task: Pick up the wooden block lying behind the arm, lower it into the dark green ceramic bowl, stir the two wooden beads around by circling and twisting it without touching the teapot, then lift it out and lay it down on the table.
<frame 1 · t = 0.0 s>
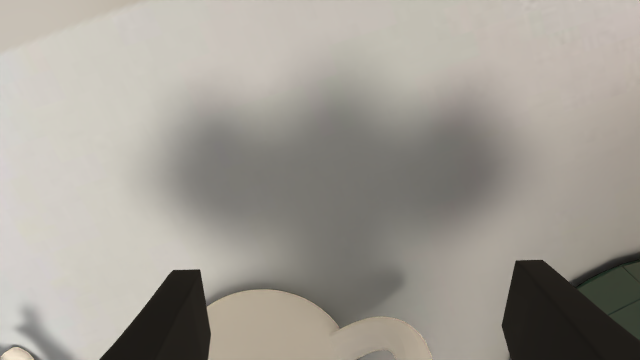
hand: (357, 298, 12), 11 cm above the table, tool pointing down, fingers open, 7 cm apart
mug: (297, 335, 26), on the table
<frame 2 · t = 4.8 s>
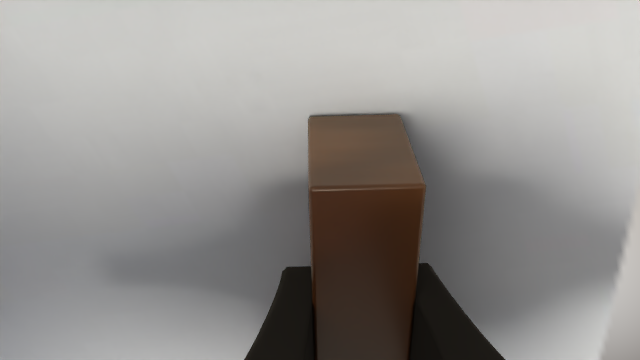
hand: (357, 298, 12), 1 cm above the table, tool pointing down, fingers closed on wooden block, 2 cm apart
wooden block: (351, 259, 14), on the table, touching gripper
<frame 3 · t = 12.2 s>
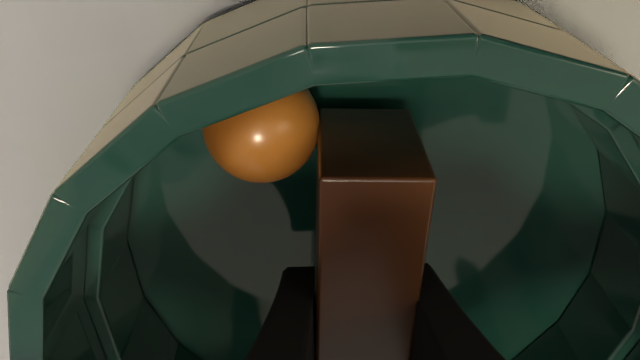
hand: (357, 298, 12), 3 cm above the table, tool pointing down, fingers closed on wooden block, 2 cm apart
bowl: (363, 242, 15), on the table
bead a: (261, 124, 11), point 2 cm above the table, tilted 111°, touching bowl, wooden block
wooden block: (354, 254, 14), point 1 cm above the table, touching bead a, gripper
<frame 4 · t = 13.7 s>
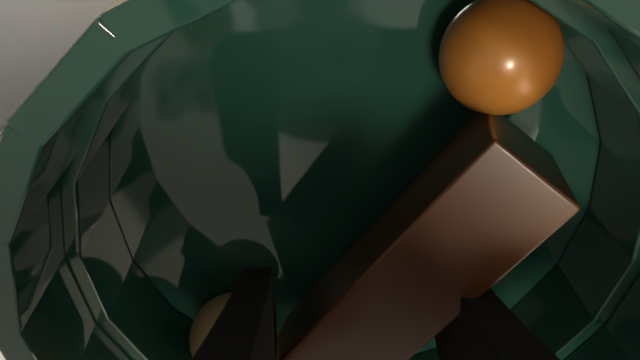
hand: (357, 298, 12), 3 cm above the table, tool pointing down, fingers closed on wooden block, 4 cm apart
bowl: (353, 191, 14), on the table
bead a: (499, 55, 11), point 2 cm above the table, tilted 101°, touching bowl, wooden block
bead b: (234, 336, 15), point 2 cm above the table, tilted 101°, touching bowl
wooden block: (404, 244, 14), point 1 cm above the table, tilted 18°, touching bead a, gripper
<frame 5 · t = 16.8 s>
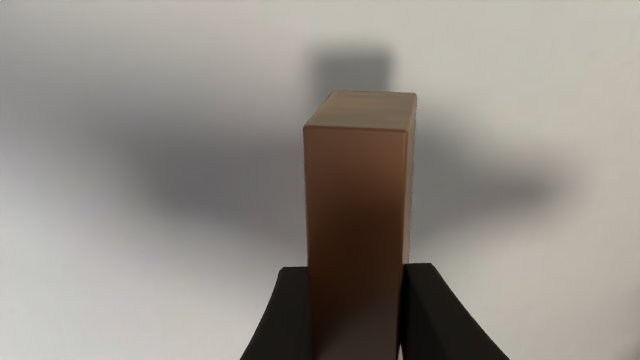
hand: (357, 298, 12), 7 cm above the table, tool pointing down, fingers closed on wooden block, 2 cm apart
wooden block: (371, 239, 14), point 5 cm above the table, tilted 16°, touching gripper
when the fingers open (3 cm above the table, at t = 17.9 s): wooden block stays where it is, on the table.
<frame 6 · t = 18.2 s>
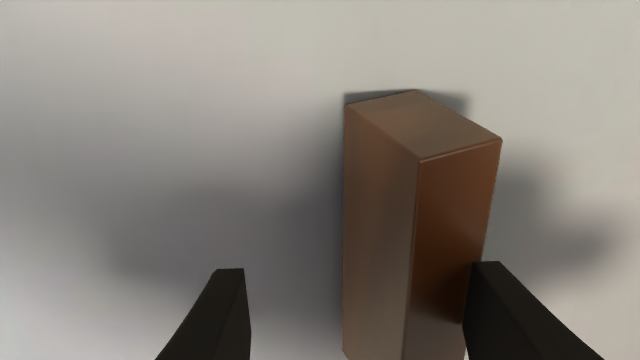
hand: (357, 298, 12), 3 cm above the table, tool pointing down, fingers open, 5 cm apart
wooden block: (374, 234, 15), on the table, tilted 25°
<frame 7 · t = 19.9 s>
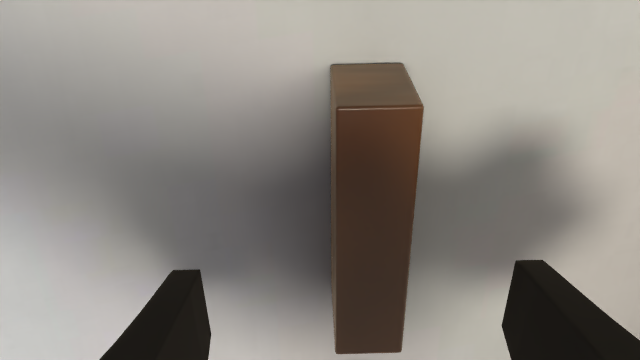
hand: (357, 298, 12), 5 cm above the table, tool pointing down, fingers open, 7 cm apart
wooden block: (363, 188, 17), on the table
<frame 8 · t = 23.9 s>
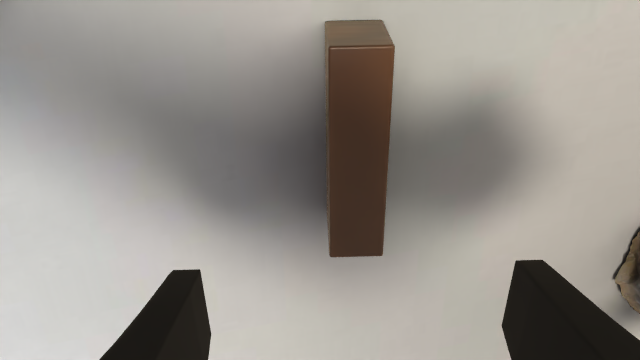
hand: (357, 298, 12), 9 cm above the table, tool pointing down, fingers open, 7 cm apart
wooden block: (352, 125, 21), on the table
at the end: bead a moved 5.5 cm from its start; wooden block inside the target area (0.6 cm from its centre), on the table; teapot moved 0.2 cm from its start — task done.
